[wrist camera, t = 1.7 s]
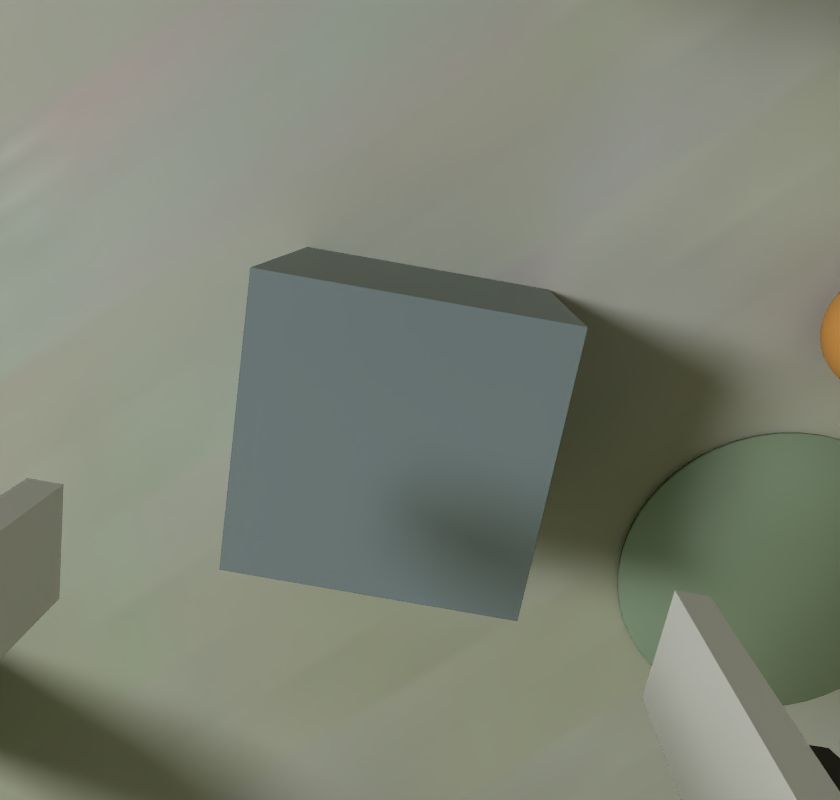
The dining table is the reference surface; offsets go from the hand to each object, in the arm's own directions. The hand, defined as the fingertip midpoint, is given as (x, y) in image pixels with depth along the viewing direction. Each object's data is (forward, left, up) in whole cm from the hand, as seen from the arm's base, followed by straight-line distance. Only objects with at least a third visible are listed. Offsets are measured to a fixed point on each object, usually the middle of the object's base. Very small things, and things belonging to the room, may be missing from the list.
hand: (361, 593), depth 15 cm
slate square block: (0, 0, -17) cm, 17 cm away
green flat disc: (+6, +18, -17) cm, 25 cm away
